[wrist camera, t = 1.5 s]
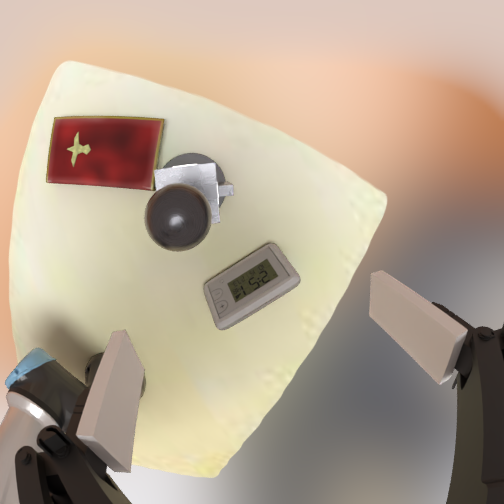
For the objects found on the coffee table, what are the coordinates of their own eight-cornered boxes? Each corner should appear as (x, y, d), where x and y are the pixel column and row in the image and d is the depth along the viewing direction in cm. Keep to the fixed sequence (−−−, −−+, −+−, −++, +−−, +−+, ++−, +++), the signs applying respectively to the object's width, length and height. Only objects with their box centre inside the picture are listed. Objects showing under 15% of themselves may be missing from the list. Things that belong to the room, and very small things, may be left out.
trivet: (161, 225, 46) (160, 226, 46) (153, 158, 43) (152, 158, 42) (228, 217, 48) (228, 218, 48) (223, 150, 44) (223, 149, 44)
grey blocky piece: (169, 215, 45) (158, 233, 33) (164, 166, 43) (150, 167, 31) (227, 208, 47) (237, 223, 35) (224, 160, 44) (232, 158, 32)
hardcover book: (156, 189, 45) (152, 192, 41) (55, 182, 40) (45, 184, 36) (167, 122, 42) (163, 118, 38) (63, 119, 37) (53, 117, 33)
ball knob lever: (171, 214, 36) (144, 265, 18) (167, 177, 34) (133, 191, 16) (208, 210, 36) (216, 256, 18) (205, 173, 35) (209, 181, 17)
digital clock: (276, 238, 51) (295, 256, 41) (289, 279, 54) (309, 303, 44) (195, 270, 50) (195, 296, 40) (213, 309, 53) (217, 340, 43)
